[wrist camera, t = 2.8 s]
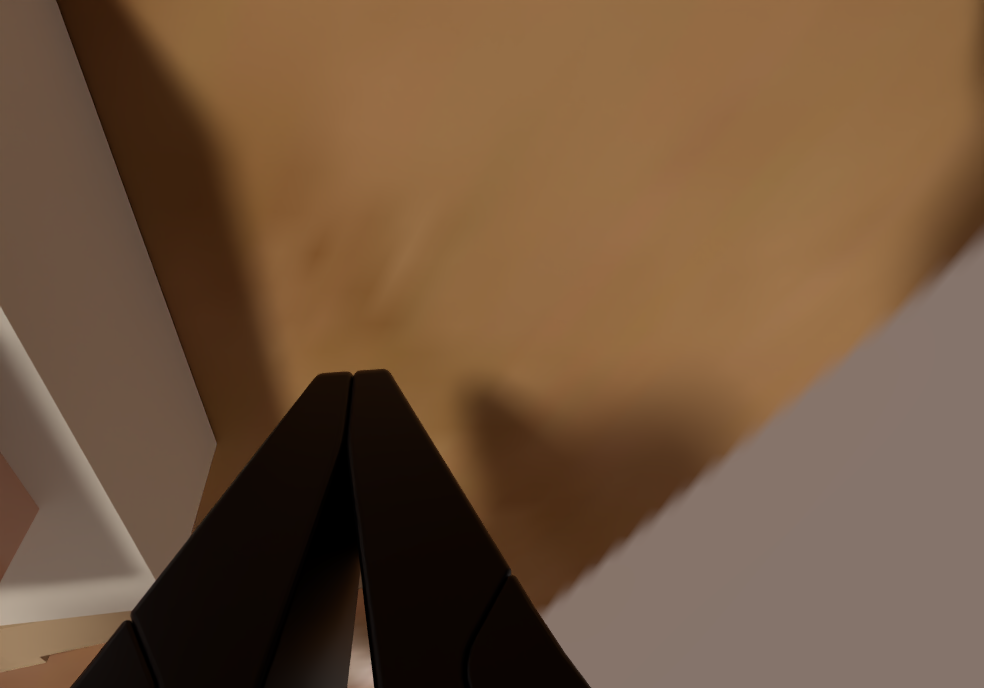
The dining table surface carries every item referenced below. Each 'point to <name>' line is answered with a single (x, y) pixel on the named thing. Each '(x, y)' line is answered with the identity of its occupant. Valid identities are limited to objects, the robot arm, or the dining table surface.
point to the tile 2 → (13, 514)
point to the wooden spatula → (56, 637)
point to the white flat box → (83, 349)
